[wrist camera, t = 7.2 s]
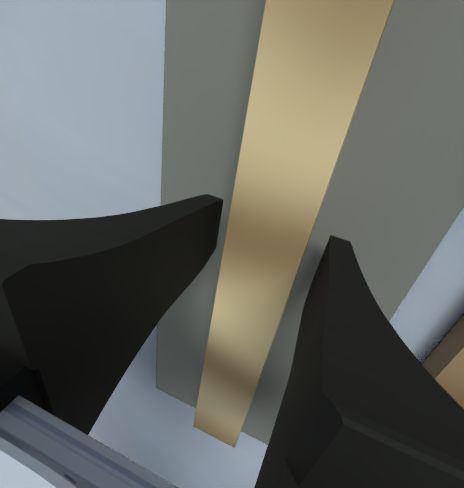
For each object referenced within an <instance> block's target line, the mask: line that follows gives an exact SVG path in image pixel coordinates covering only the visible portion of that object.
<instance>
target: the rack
mask: <svg viewBox="0 0 464 488" xmlns="http://www.w3.org/2000/svg"><path fill="white" fill-rule="evenodd" d="M422 365H423V366H424V368H425V369H426V370H427V371H428V372H429V373H430V374H431V375H432V377H433V378H434V379H435V380H436V381H437V382H438V383H439V384H440V385H441V386H442V387H443V388H444V389H445V390H446V391H447V392H448V393H449V395H450V396H451V397H452V398H453V399H454V400H455V401H456V402H457V403H458V404H459V405H460V406H461V407H462V408H463V409H464V315H463V316H462V317H461V318H460V319H459V321H458V322H457V323H456V324H455V325H454V327H453V328H452V329H451V330H450V331H449V332H448V334H447V335H446V336H445V337H444V338H443V340H442V341H441V342H440V343H439V344H438V346H437V347H436V348H435V349H434V350H433V352H432V353H431V354H430V355H429V356H428V358H427V359H426V360H425V361H424V362H423V364H422Z"/></svg>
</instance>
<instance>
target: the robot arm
mask: <svg viewBox="0 0 464 488" xmlns="http://www.w3.org/2000/svg"><path fill="white" fill-rule="evenodd" d="M223 200H224V199H221V198H218V197H215V196H212V195H209V194H205V195H200V196H195V197H192V198H188V199H184V200H181V201H177V202H173V203H169V204H166V205H162V206H158V207H154V208H149V209H145V210H140V211H136V212H131V213H126V214H120V215H113V216H106V217H97V218H84V219H70V220H6V219H0V488H178V487H176V486H174V485H172V484H171V483H169V482H167V481H166V480H164V479H162V478H160V477H159V476H157V475H155V474H154V473H152V472H150V471H148V470H147V469H145V468H143V467H142V466H140V465H138V464H136V463H135V462H133V461H131V460H130V459H128V458H126V457H124V456H123V455H121V454H119V453H117V452H116V451H114V450H112V449H111V448H109V447H107V446H105V445H104V444H102V443H100V442H99V441H97V440H95V439H93V438H92V437H90V436H88V434H89V432H90V430H91V429H92V427H93V425H94V424H95V422H96V420H97V418H98V417H99V415H100V413H101V411H102V410H103V408H104V406H105V405H106V403H107V401H108V399H109V398H110V396H111V394H112V393H113V391H114V390H115V388H116V386H117V385H118V383H119V381H120V380H121V378H122V377H123V375H124V373H125V372H126V370H127V368H128V367H129V365H130V364H131V362H132V361H133V359H134V358H135V356H136V355H137V353H138V351H139V350H140V348H141V347H142V345H143V344H144V342H145V341H146V339H147V338H148V336H149V335H150V333H151V332H152V331H153V329H154V328H155V326H156V325H157V323H158V322H159V320H160V319H161V318H162V317H163V315H164V314H165V313H166V311H167V310H168V309H169V308H170V307H171V306H172V304H173V303H174V302H175V301H176V300H177V299H178V297H179V296H180V295H181V294H182V293H183V292H184V291H185V289H186V288H187V287H188V286H189V285H190V284H191V282H192V281H193V280H194V279H195V278H196V276H197V275H198V274H199V273H200V272H201V270H202V269H203V268H204V266H205V265H206V263H207V262H208V260H209V259H210V257H211V255H212V254H213V252H214V251H215V249H216V246H217V239H218V233H219V226H220V220H221V213H222V207H223ZM255 488H464V409H463V408H462V407H461V406H460V405H459V404H458V403H457V402H456V401H455V400H454V399H453V398H452V397H451V396H450V395H449V393H448V392H447V391H446V390H445V389H444V388H443V387H442V386H441V385H440V384H439V383H438V382H437V381H436V380H435V379H434V378H433V377H432V375H431V374H430V373H429V372H428V371H427V370H426V369H425V368H424V366H423V365H422V364H421V363H420V362H419V361H418V359H417V358H416V357H415V356H414V354H413V353H412V352H411V351H410V350H409V348H408V347H407V346H406V345H405V343H404V342H403V341H402V339H401V338H400V337H399V335H398V334H397V333H396V331H395V330H394V328H393V327H392V325H391V324H390V323H389V321H388V320H387V318H386V317H385V315H384V314H383V312H382V310H381V309H380V307H379V306H378V304H377V302H376V300H375V298H374V297H373V295H372V293H371V291H370V289H369V287H368V285H367V282H366V280H365V278H364V276H363V274H362V271H361V269H360V266H359V264H358V261H357V258H356V256H355V253H354V250H353V247H352V244H351V242H350V241H347V240H344V239H341V238H338V237H335V236H332V235H330V238H329V240H328V243H327V245H326V248H325V250H324V253H323V255H322V258H321V260H320V263H319V265H318V268H317V270H316V273H315V275H314V278H313V280H312V283H311V285H310V288H309V292H308V295H307V298H306V301H305V304H304V307H303V311H302V316H301V321H300V326H299V331H298V336H297V342H296V347H295V352H294V357H293V362H292V367H291V371H290V375H289V379H288V382H287V386H286V389H285V392H284V396H283V399H282V402H281V405H280V409H279V412H278V415H277V418H276V421H275V425H274V428H273V431H272V434H271V438H270V441H269V444H268V447H267V450H266V453H265V457H264V460H263V463H262V466H261V469H260V472H259V475H258V479H257V482H256V485H255Z"/></svg>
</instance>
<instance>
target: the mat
mask: <svg viewBox="0 0 464 488" xmlns="http://www.w3.org/2000/svg"><path fill="white" fill-rule="evenodd" d="M265 3H266V0H166V26H165V64H164V102H163V140H162V179H161V206H162V205H166V204H169V203H173V202H177V201H181V200H184V199H188V198H192V197H195V196H200V195H205V194H209V195H212V196H215V197H218V198H221V199H224V200H223V207H222V213H221V220H220V226H219V233H218V239H217V246H216V249H215V251H214V252H213V254H212V255H211V257H210V259H209V260H208V262H207V263H206V265H205V266H204V268H203V269H202V270H201V272H200V273H199V274H198V275H197V276H196V278H195V279H194V280H193V281H192V282H191V284H190V285H189V286H188V287H187V288H186V289H185V291H184V292H183V293H182V294H181V295H180V296H179V297H178V299H177V300H176V301H175V302H174V303H173V304H172V306H171V307H170V308H169V309H168V310H167V311H166V313H165V314H164V315H163V317H162V318H161V319H160V320H159V322H158V332H157V370H156V388H157V389H159V390H161V391H163V392H165V393H167V394H169V395H171V396H173V397H175V398H177V399H179V400H181V401H183V402H185V403H187V404H189V405H191V406H193V407H195V408H196V407H197V401H198V395H199V390H200V384H201V378H202V372H203V366H204V360H205V355H206V349H207V343H208V337H209V331H210V325H211V319H212V314H213V308H214V302H215V296H216V290H217V284H218V278H219V273H220V267H221V261H222V255H223V249H224V243H225V237H226V232H227V226H228V220H229V214H230V208H231V202H232V196H233V191H234V185H235V179H236V173H237V167H238V161H239V155H240V150H241V144H242V138H243V132H244V126H245V120H246V114H247V109H248V103H249V97H250V91H251V85H252V79H253V73H254V68H255V62H256V56H257V50H258V44H259V38H260V33H261V27H262V21H263V15H264V9H265ZM463 207H464V0H395V2H394V5H393V7H392V10H391V13H390V16H389V19H388V21H387V24H386V27H385V30H384V33H383V35H382V38H381V41H380V44H379V47H378V49H377V52H376V55H375V58H374V61H373V63H372V66H371V69H370V72H369V75H368V77H367V80H366V83H365V86H364V89H363V91H362V94H361V97H360V100H359V103H358V105H357V108H356V111H355V114H354V117H353V119H352V122H351V125H350V128H349V130H348V133H347V136H346V139H345V142H344V144H343V147H342V150H341V153H340V156H339V158H338V161H337V164H336V167H335V170H334V172H333V175H332V178H331V181H330V184H329V186H328V189H327V192H326V195H325V198H324V200H323V203H322V206H321V209H320V212H319V214H318V217H317V220H316V223H315V226H314V228H313V231H312V234H311V237H310V240H309V242H308V245H307V248H306V251H305V254H304V256H303V259H302V262H301V265H300V268H299V270H298V273H297V276H296V279H295V282H294V284H293V287H292V290H291V293H290V296H289V298H288V301H287V304H286V307H285V309H284V312H283V315H282V318H281V321H280V323H279V326H278V329H277V332H276V335H275V337H274V340H273V343H272V346H271V349H270V351H269V354H268V357H267V360H266V363H265V365H264V368H263V371H262V374H261V377H260V379H259V382H258V385H257V388H256V391H255V393H254V396H253V399H252V402H251V405H250V407H249V410H248V413H247V415H246V418H245V421H244V424H243V426H242V429H241V431H242V432H244V433H246V434H248V435H250V436H252V437H254V438H256V439H258V440H259V441H261V442H263V443H265V444H267V445H268V444H269V441H270V438H271V434H272V431H273V428H274V425H275V421H276V418H277V415H278V412H279V409H280V405H281V402H282V399H283V396H284V392H285V389H286V386H287V382H288V379H289V375H290V371H291V367H292V362H293V357H294V352H295V347H296V342H297V336H298V331H299V326H300V321H301V316H302V311H303V307H304V304H305V301H306V298H307V295H308V292H309V288H310V285H311V283H312V280H313V278H314V275H315V273H316V270H317V268H318V265H319V263H320V260H321V258H322V255H323V253H324V250H325V248H326V245H327V243H328V240H329V238H330V235H332V236H335V237H338V238H341V239H344V240H347V241H350V242H351V244H352V247H353V250H354V253H355V256H356V258H357V261H358V264H359V266H360V269H361V271H362V274H363V276H364V278H365V280H366V282H367V285H368V287H369V289H370V291H371V293H372V295H373V297H374V298H375V300H376V302H377V304H378V306H379V307H380V309H381V310H382V312H383V314H384V315H385V317H386V318H387V320H388V321H390V319H391V318H392V316H393V314H394V313H395V311H396V310H397V308H398V307H399V305H400V304H401V302H402V301H403V299H404V298H405V296H406V295H407V293H408V291H409V290H410V288H411V287H412V285H413V284H414V282H415V281H416V279H417V278H418V276H419V275H420V273H421V271H422V270H423V268H424V267H425V265H426V264H427V262H428V261H429V259H430V258H431V256H432V255H433V253H434V251H435V250H436V248H437V247H438V245H439V244H440V242H441V241H442V239H443V238H444V236H445V235H446V233H447V232H448V230H449V228H450V227H451V225H452V224H453V222H454V221H455V219H456V218H457V216H458V215H459V213H460V212H461V210H462V208H463Z"/></svg>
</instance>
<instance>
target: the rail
mask: <svg viewBox="0 0 464 488" xmlns="http://www.w3.org/2000/svg"><path fill="white" fill-rule="evenodd" d="M394 2H395V0H266V3H265V9H264V15H263V21H262V27H261V33H260V38H259V44H258V50H257V56H256V62H255V68H254V73H253V79H252V85H251V91H250V97H249V103H248V109H247V114H246V120H245V126H244V132H243V138H242V144H241V150H240V155H239V161H238V167H237V173H236V179H235V185H234V191H233V196H232V202H231V208H230V214H229V220H228V226H227V232H226V237H225V243H224V249H223V255H222V261H221V267H220V273H219V278H218V284H217V290H216V296H215V302H214V308H213V314H212V319H211V325H210V331H209V337H208V343H207V349H206V355H205V360H204V366H203V372H202V378H201V384H200V390H199V395H198V401H197V407H196V413H195V419H194V425H193V426H194V427H196V428H198V429H200V430H202V431H204V432H205V433H207V434H209V435H211V436H213V437H215V438H217V439H219V440H221V441H223V442H224V443H226V444H228V445H230V446H232V447H234V448H235V445H236V442H237V440H238V437H239V434H240V432H241V429H242V426H243V424H244V421H245V418H246V415H247V413H248V410H249V407H250V405H251V402H252V399H253V396H254V393H255V391H256V388H257V385H258V382H259V379H260V377H261V374H262V371H263V368H264V365H265V363H266V360H267V357H268V354H269V351H270V349H271V346H272V343H273V340H274V337H275V335H276V332H277V329H278V326H279V323H280V321H281V318H282V315H283V312H284V309H285V307H286V304H287V301H288V298H289V296H290V293H291V290H292V287H293V284H294V282H295V279H296V276H297V273H298V270H299V268H300V265H301V262H302V259H303V256H304V254H305V251H306V248H307V245H308V242H309V240H310V237H311V234H312V231H313V228H314V226H315V223H316V220H317V217H318V214H319V212H320V209H321V206H322V203H323V200H324V198H325V195H326V192H327V189H328V186H329V184H330V181H331V178H332V175H333V172H334V170H335V167H336V164H337V161H338V158H339V156H340V153H341V150H342V147H343V144H344V142H345V139H346V136H347V133H348V130H349V128H350V125H351V122H352V119H353V117H354V114H355V111H356V108H357V105H358V103H359V100H360V97H361V94H362V91H363V89H364V86H365V83H366V80H367V77H368V75H369V72H370V69H371V66H372V63H373V61H374V58H375V55H376V52H377V49H378V47H379V44H380V41H381V38H382V35H383V33H384V30H385V27H386V24H387V21H388V19H389V16H390V13H391V10H392V7H393V5H394Z"/></svg>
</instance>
